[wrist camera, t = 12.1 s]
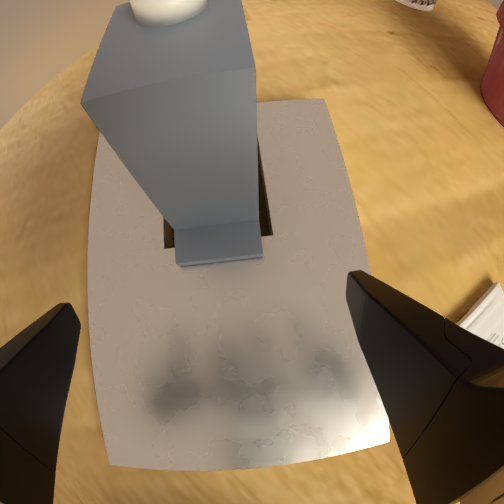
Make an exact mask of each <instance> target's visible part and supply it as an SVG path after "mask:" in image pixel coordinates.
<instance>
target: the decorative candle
mask: <svg viewBox="0 0 504 504" xmlns="http://www.w3.org/2000/svg"><path fill="white" fill-rule="evenodd" d="M395 1H397V2H399V3H401V4H403V5H406V6H408V7H410V8H414V9H417V10H420V11H431V10H433V4H436V0H395Z"/></svg>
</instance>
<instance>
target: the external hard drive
mask: <svg viewBox="0 0 504 504" xmlns="http://www.w3.org/2000/svg"><path fill="white" fill-rule="evenodd" d="M455 324H457V325H458V326H460V327H462V328H464V329H465V330H467V331H469V332H471V333H473V334H475V335H477V336H479V337H481V338H483V339H485V340H487V341H489V342H491V343H493V344H495V345H497V346H499V347H501V348H503V349H504V292H503V290H502V288H501V286H500V284H499V282H496V283H493V284H492V285H491V286H490V288H489V289H488V290H487V291H486V292H485V293H484V294H483V295H482V296H481V297H480V299H479V300H478V301H477V302H476V303H475V304H474V305H473V306H472V307H471V308H470V309H469V311H468V313H467V314H466V315H465V316H464V317H463V318H462V319H461V320H460V321H459V322H457V323H455Z"/></svg>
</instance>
